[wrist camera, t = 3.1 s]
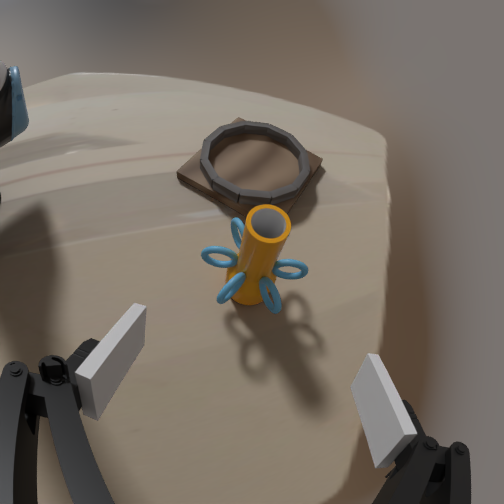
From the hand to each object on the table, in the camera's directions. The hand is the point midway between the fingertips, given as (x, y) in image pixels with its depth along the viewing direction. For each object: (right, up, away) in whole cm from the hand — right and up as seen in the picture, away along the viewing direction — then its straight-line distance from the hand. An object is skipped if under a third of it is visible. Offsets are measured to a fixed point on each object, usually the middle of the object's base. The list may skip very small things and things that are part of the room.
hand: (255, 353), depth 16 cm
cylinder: (-1, +1, +23) cm, 23 cm away
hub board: (0, +20, +33) cm, 38 cm away
